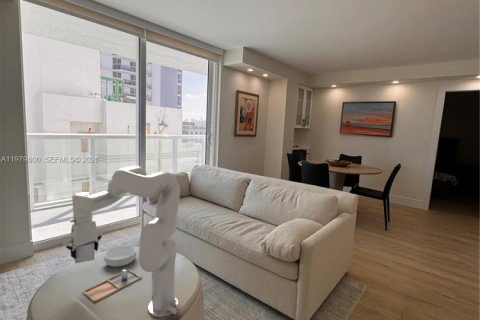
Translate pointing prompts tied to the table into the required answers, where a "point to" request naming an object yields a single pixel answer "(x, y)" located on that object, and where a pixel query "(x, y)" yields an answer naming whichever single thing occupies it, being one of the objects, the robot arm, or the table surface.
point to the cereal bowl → (120, 255)
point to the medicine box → (85, 252)
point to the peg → (124, 275)
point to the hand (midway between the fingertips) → (85, 253)
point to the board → (110, 286)
